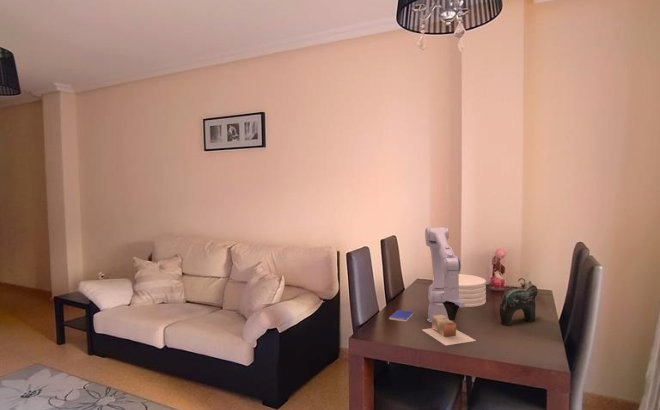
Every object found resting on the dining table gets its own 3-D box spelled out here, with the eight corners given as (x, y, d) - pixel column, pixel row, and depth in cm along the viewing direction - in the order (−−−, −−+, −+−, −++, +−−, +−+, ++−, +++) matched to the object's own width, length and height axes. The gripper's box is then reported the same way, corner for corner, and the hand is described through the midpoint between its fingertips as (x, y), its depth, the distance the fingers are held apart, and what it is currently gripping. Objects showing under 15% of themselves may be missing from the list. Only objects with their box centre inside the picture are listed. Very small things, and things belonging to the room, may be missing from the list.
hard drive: (405, 319, 176) (413, 311, 187) (389, 316, 180) (397, 309, 190) (405, 322, 176) (413, 315, 187) (389, 320, 180) (397, 312, 191)
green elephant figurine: (529, 317, 178) (529, 275, 177) (541, 321, 172) (541, 278, 171) (497, 323, 171) (496, 279, 170) (508, 328, 165) (508, 282, 164)
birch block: (445, 337, 154) (431, 326, 164) (455, 335, 155) (441, 325, 165) (445, 325, 153) (432, 315, 163) (456, 324, 155) (442, 314, 164)
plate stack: (494, 306, 196) (494, 284, 195) (440, 307, 196) (440, 285, 196) (475, 292, 224) (474, 273, 223) (427, 293, 224) (427, 274, 224)
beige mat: (421, 331, 163) (421, 329, 163) (449, 327, 167) (449, 325, 167) (445, 346, 146) (445, 345, 146) (476, 342, 150) (476, 340, 150)
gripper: (471, 290, 147) (471, 324, 148) (449, 282, 161) (449, 313, 162) (455, 292, 145) (456, 326, 146) (434, 283, 159) (435, 315, 160)
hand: (451, 319), depth 154 cm, fingers closed
